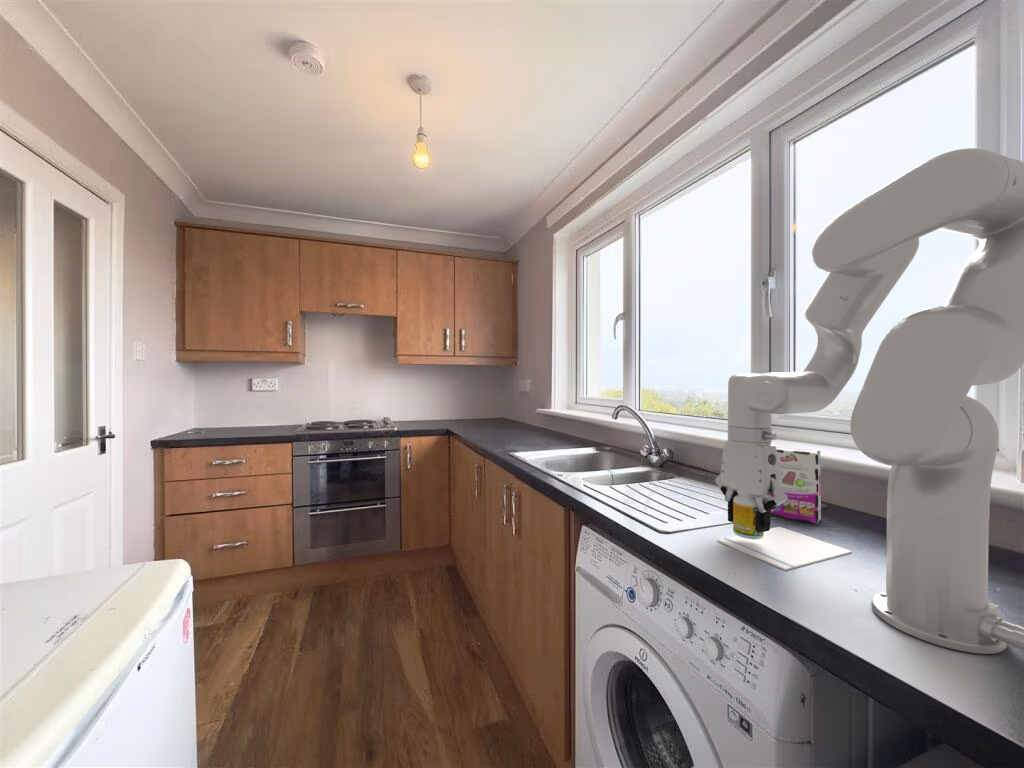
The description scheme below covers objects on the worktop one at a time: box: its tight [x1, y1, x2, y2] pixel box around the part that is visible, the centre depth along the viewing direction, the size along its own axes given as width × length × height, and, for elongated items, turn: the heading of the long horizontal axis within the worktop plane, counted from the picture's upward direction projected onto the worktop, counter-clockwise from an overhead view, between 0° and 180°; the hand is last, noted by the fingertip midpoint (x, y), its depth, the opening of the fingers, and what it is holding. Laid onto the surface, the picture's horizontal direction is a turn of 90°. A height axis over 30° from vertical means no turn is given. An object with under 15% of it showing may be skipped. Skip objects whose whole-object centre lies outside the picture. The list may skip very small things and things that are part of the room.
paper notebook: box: [716, 526, 853, 572], centre depth 81 cm, size 14×19×1 cm
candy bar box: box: [763, 446, 822, 525], centre depth 98 cm, size 11×5×16 cm, turn 47°
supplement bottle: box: [732, 490, 764, 539], centre depth 81 cm, size 5×5×10 cm
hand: (748, 524), depth 81 cm, fingers closed on supplement bottle, 5 cm apart
